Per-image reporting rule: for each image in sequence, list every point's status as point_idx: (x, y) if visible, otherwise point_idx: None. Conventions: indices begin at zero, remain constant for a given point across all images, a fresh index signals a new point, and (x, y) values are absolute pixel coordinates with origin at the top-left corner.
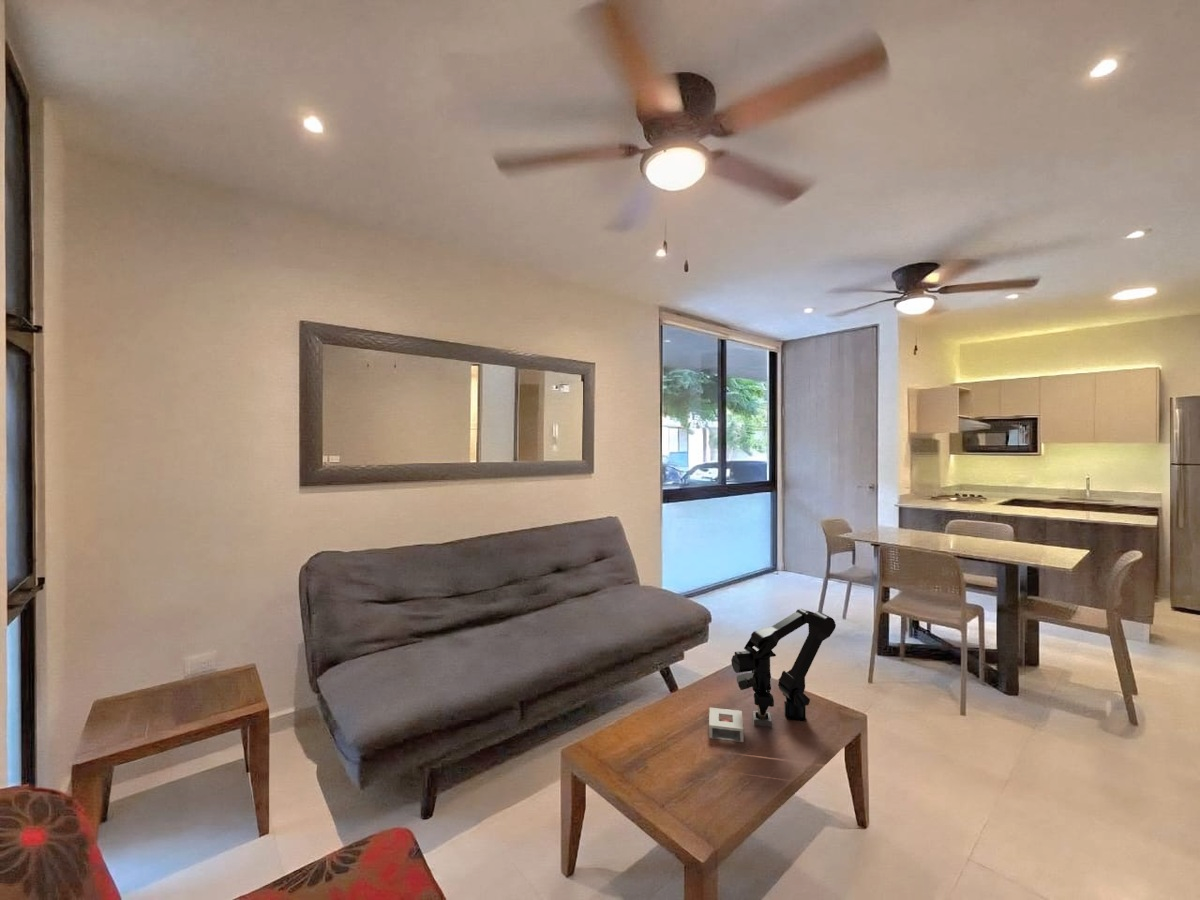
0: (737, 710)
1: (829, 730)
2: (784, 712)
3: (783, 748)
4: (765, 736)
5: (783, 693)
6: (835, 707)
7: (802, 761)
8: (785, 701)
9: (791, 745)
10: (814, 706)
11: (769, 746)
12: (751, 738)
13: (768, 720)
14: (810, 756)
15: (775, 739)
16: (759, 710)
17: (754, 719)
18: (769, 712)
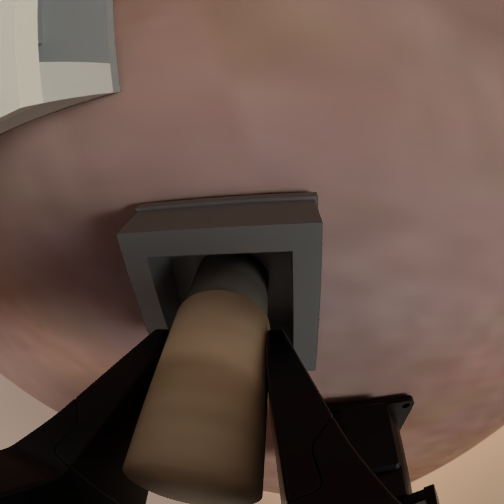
0: (12, 44)
1: (264, 479)
2: (374, 407)
3: (34, 347)
4: (64, 282)
5: (426, 501)
6: (415, 477)
7: (19, 381)
8: (393, 470)
9: (75, 380)
10: (433, 451)
11: (5, 292)
12: (4, 195)
13: None
14: (60, 410)
15: (72, 330)
16: (165, 345)
17: (118, 238)
18: (311, 368)
